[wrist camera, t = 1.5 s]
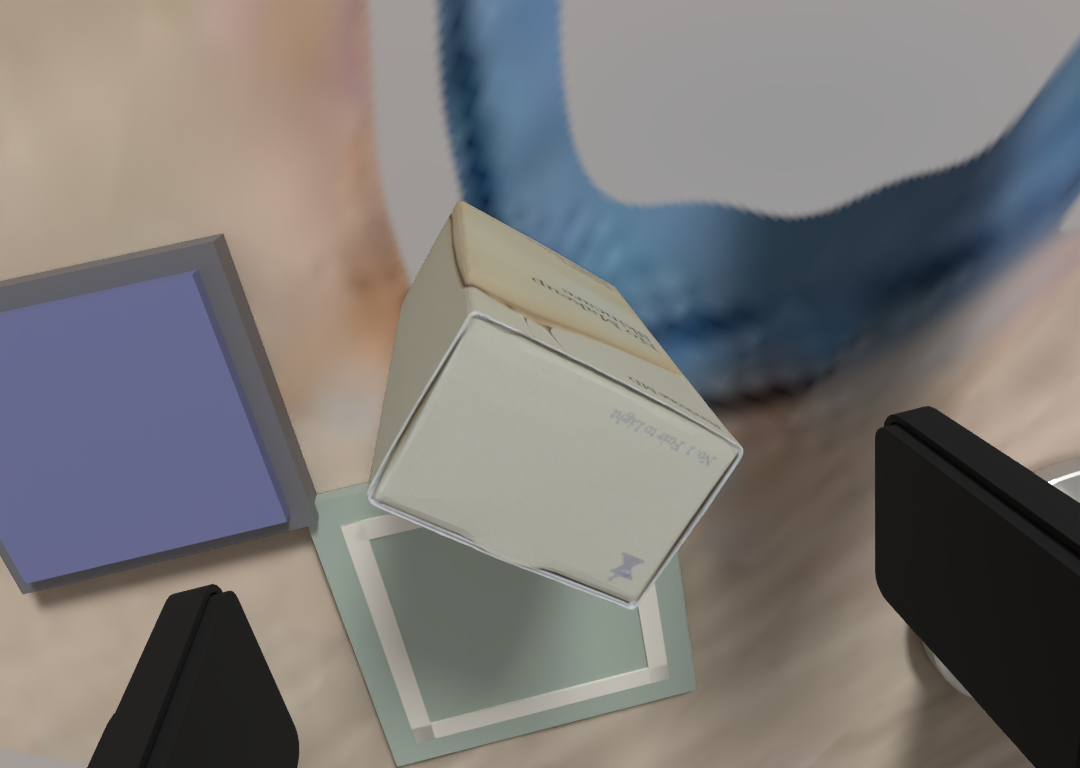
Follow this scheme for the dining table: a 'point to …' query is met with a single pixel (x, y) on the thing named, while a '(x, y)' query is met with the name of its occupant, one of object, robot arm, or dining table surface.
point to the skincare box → (542, 417)
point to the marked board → (486, 635)
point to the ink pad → (139, 417)
